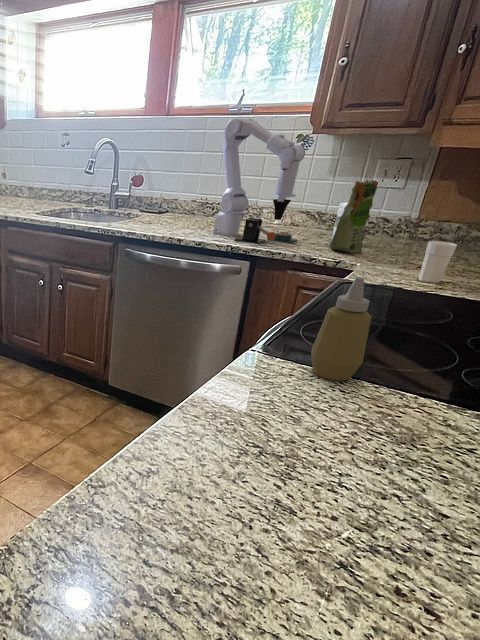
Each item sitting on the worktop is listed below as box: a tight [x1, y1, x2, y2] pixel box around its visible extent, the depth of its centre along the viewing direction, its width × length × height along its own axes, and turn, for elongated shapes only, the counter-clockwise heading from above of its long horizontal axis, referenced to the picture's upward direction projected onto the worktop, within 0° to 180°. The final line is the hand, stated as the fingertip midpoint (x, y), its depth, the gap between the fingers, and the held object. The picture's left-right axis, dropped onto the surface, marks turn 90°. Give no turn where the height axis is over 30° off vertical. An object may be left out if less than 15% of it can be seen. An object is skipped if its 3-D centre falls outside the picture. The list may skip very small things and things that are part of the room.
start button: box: [278, 229, 289, 235], centre depth 203 cm, size 3×3×2 cm
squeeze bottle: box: [310, 276, 372, 382], centre depth 91 cm, size 8×8×18 cm
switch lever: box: [252, 219, 276, 241], centre depth 199 cm, size 11×3×3 cm, turn 47°
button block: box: [266, 232, 298, 244], centre depth 204 cm, size 9×6×3 cm, turn 46°
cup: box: [417, 240, 458, 284], centre depth 153 cm, size 7×7×11 cm
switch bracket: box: [234, 217, 267, 245], centre depth 201 cm, size 9×8×9 cm
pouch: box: [328, 179, 379, 255], centre depth 185 cm, size 11×12×25 cm
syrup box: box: [330, 202, 348, 241], centre depth 205 cm, size 6×6×14 cm
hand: (277, 219), depth 196 cm, fingers closed
